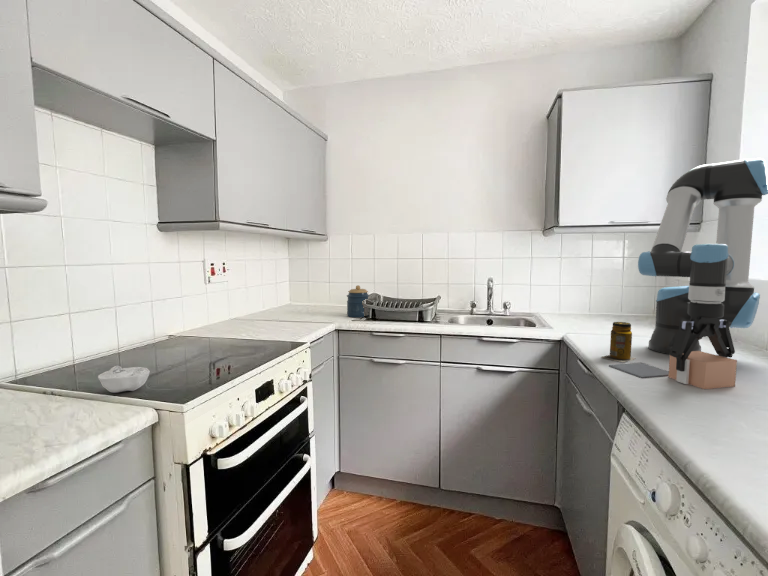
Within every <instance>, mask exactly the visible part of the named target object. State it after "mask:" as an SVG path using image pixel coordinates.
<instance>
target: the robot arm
mask: <svg viewBox="0 0 768 576" xmlns="http://www.w3.org/2000/svg"><path fill="white" fill-rule="evenodd" d="M766 195H768V168H767V162H766V160H765V159H764V158H761V157H757V158H755V157H754V158H743V159H736V160H731V161H723V162H717V163H707V164H702V165H698V166H696V167H694V168H692V169H690V170H688V171H687V172H685V173H684V174H681V176H680V177H678V179H676V180H675V181H674V183H673V184H672V185H671V187H670V188H669V189H668V192H667V195H666V198H665V199H666V203H667V205H666V208H665V211H664V213H663V217H662V218H661V222H660V225H659V228H658V230H657V232H656V237H655V238H654V242H653V244H652V247H651V250H649V251H643V252H641V253H640V255H639V256H638V261H637V269H638V272H639V273H640V275H642V276H648V277H655V278H656V277H673V278H675V277H677V278H679V277H681V278H689V285H681V286H677V285H676V286H666V287H662V288H660V289H658V290H657V295H656V300H655V302H656V306H655V309H656V310H655V325H654V326H655V328H654V329H653V331H652V334H651V337H650V339H649V341H648V349H649V350H650V351H653V352H657V353H662V354H666V355H667V354H668V355H669V356H670V355H671V356H673V357H676V359H677V361H676V370H677V379H676V380H675V381H676V382H678V383H681V384H684V385H689V384H688V380H689V365H690V360H687V358H688V356H689V355H690V353H691V352H692V351H701V352H702V346H701V344H700V340H702V339H703V338H706V337H707V338H708V339H709V341H710V344H711V345H712V347H713V350H714V351H715V352H716V355H718V356H722V357H726V358H730V359H732V357H733V356H734V354H735V353H736V350H735V346H734V342H733V338H732V335H731V330H730V329H733V328H736V329H748V328H750V327H752V325H753V324H754V321H755V318H756V315H757V311H758V308H759V304H760V299H761V294H760V293H759V292H755V286H753V285H752V283H750V282H749V275H750V264H751V253H752V242H753V241H752V240H753V229H754V228H753V227H754V219H755V218H754V217H755V207H756V206H757V205H758V204H759V203H761V202H762V201H763V196H766ZM703 200H713V205H714V206H715V207H716V208H717V209H718V219H717V220H718V221H717V229H716V242H715V243H701V244H700V243H699V244H698V243H696V244H693V246H692V248H691V251H682V249H683V246H684V243H685V240H686V236H687V233H688V230H689V228H690V224H691V222H692V218H693V215H694V210H695V208H696V207H697V206H699V204H700V203H701V201H703ZM683 353H684V354H683Z"/></svg>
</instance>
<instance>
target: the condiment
mask: <svg viewBox="0 0 768 576" xmlns="http://www.w3.org/2000/svg"><path fill="white" fill-rule="evenodd" d="M632 332H633V331H632V324H631V323H630V322H627V321H625V322H624V321H614V322H612V327H611V330H610V344H609V354H607V355H604V356H601V358H602V359H605V360H606V359H607V360H610V361H613V362H619V363H622V364H625V363H626V362H627V363H628V362H631V361H634V360H636V359H637V358H636V357H632V341H633V333H632Z"/></svg>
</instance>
